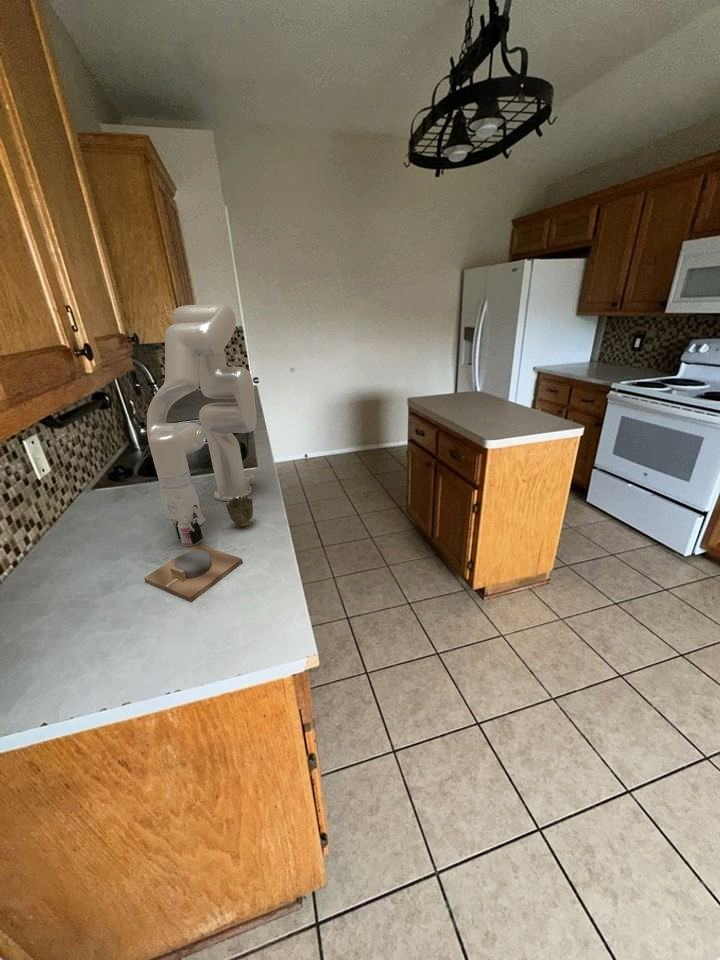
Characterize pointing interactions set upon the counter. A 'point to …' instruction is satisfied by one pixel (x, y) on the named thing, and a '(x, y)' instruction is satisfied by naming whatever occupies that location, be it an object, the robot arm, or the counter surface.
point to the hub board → (198, 582)
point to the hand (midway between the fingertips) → (190, 538)
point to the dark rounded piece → (240, 510)
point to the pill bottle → (185, 534)
